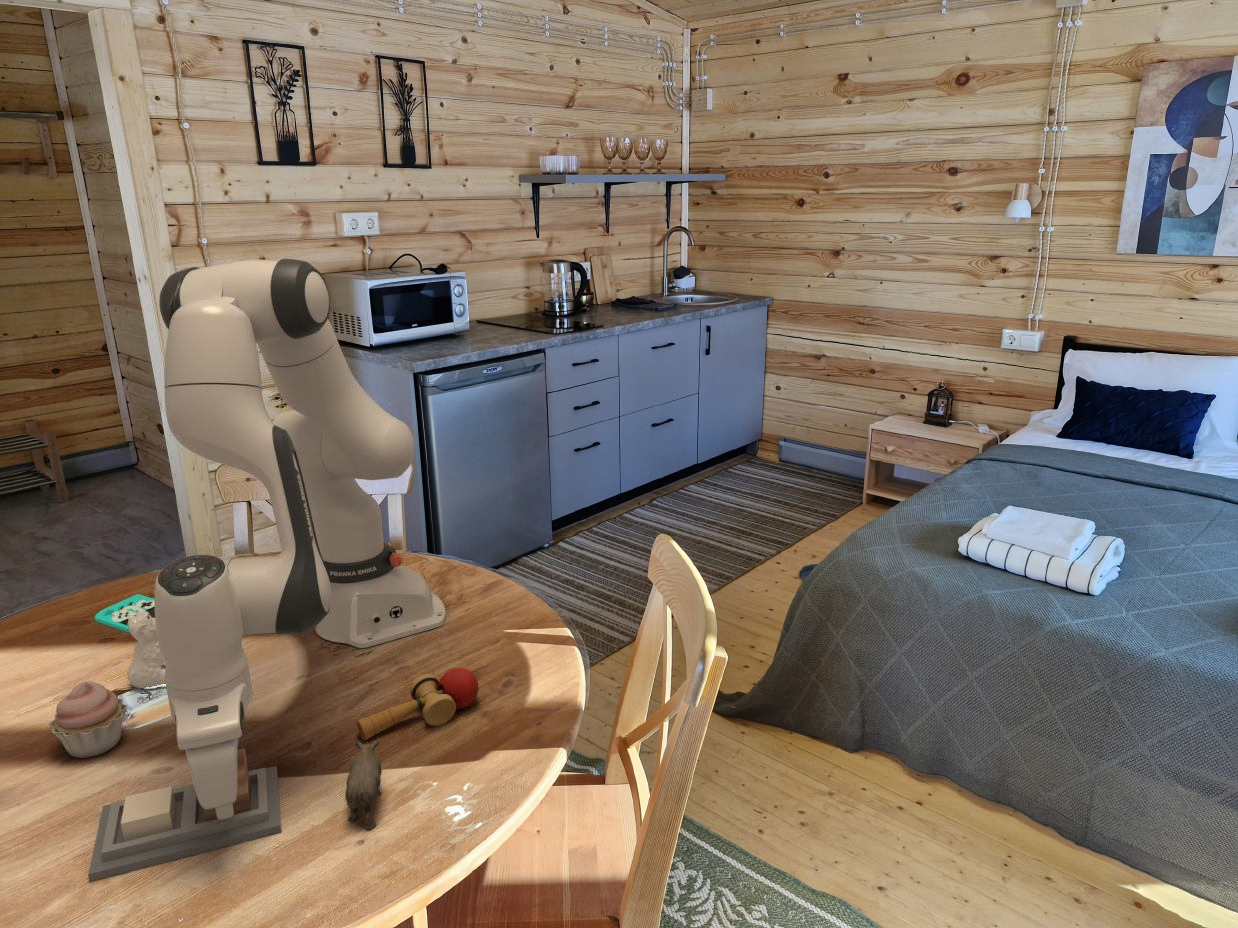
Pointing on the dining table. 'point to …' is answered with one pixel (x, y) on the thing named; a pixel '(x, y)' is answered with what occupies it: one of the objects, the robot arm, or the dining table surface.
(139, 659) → the sitting furry creature
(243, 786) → the brown block
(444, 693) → the kendama
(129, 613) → the handheld game console
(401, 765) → the dining table surface
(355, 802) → the rhino figurine
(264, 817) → the base plate
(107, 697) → the cupcake
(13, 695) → the dining table surface
